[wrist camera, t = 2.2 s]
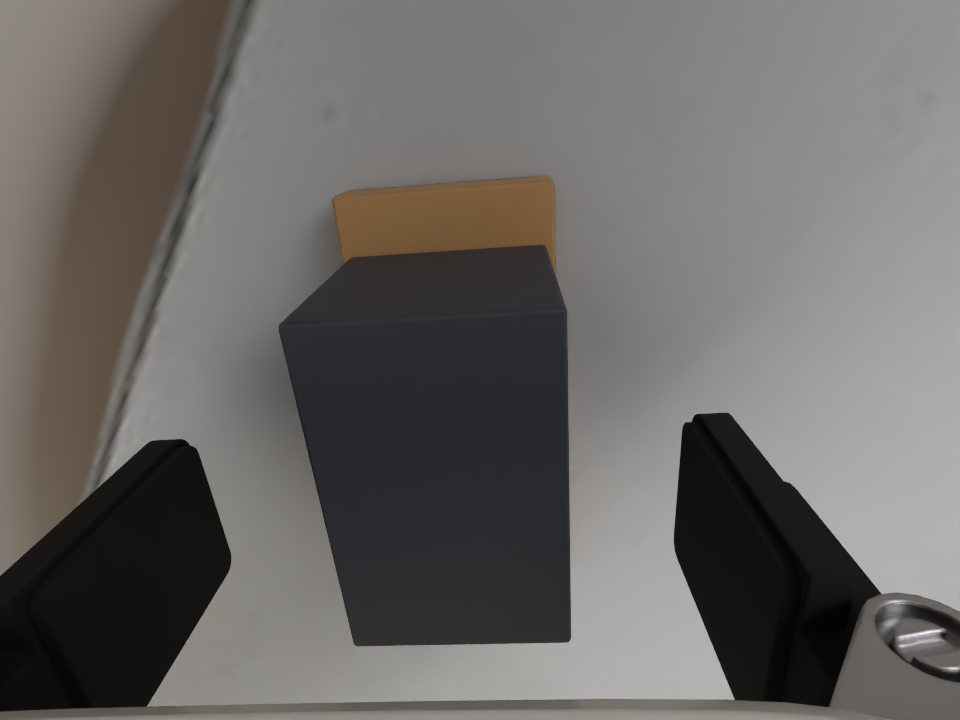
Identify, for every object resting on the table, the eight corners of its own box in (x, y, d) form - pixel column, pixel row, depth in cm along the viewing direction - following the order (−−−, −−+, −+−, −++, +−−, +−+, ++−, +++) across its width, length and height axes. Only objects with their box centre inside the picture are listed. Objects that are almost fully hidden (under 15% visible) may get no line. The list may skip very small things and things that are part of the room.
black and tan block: (344, 190, 13) (240, 240, 8) (549, 175, 13) (581, 216, 7) (408, 565, 18) (368, 749, 12) (558, 561, 17) (581, 748, 12)
